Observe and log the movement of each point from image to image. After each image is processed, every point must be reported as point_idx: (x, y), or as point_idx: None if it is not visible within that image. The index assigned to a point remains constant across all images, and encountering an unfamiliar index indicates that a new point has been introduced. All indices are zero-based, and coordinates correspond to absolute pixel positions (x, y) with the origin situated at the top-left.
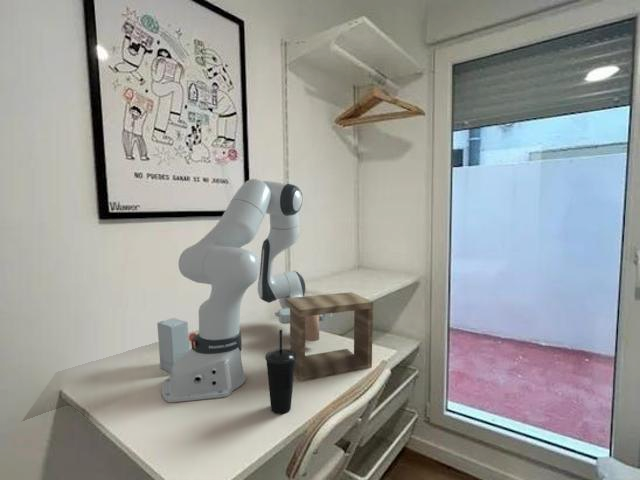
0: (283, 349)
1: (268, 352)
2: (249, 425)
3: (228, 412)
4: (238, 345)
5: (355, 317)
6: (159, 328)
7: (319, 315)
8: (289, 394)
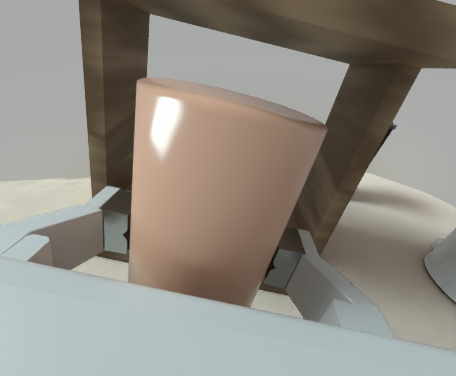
0: None
1: (394, 125)
2: (368, 192)
3: (407, 216)
4: None
5: (107, 71)
6: None
7: (114, 206)
8: None
